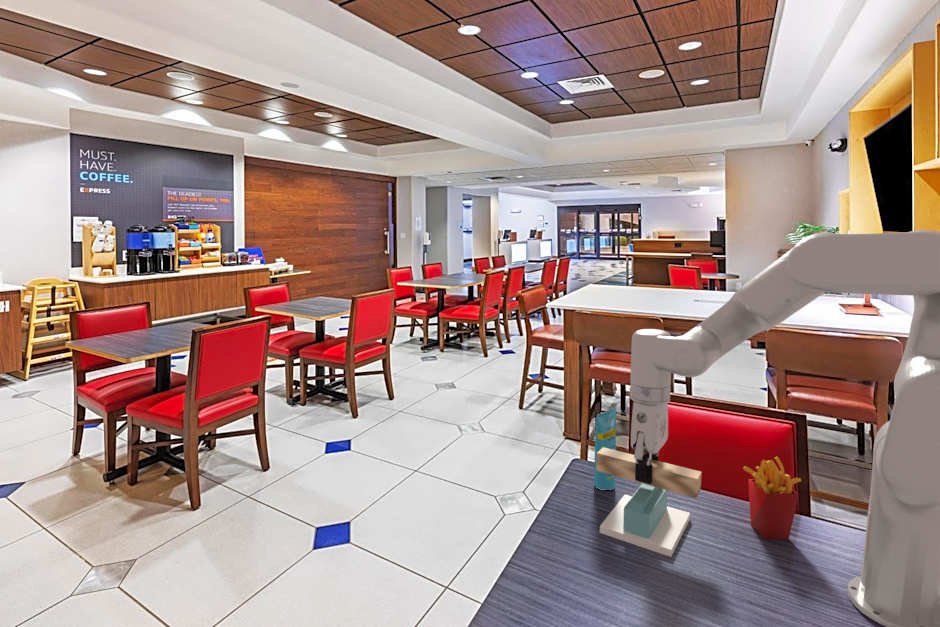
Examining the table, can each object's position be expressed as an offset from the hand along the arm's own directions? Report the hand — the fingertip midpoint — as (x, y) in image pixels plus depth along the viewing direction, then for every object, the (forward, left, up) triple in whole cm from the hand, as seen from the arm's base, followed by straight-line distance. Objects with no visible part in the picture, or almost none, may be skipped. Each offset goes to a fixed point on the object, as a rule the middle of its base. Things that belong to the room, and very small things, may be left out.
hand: (646, 476), depth 103 cm
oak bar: (0, 0, -1) cm, 1 cm away
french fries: (-20, -12, -11) cm, 26 cm away
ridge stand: (0, 0, -11) cm, 11 cm away
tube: (+13, -11, -11) cm, 20 cm away
